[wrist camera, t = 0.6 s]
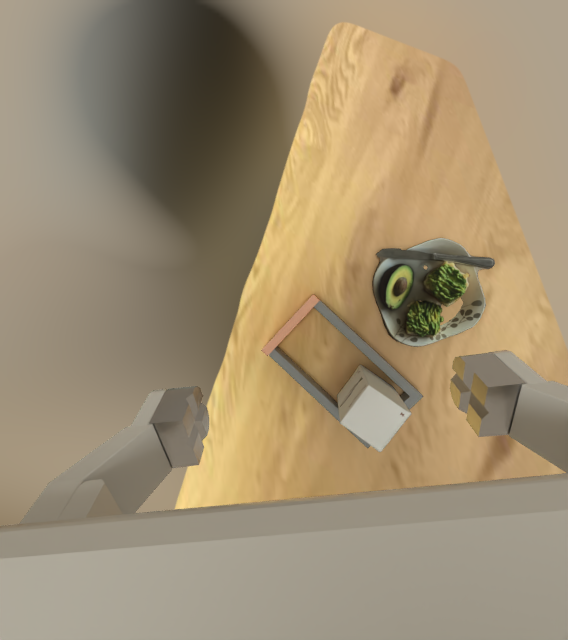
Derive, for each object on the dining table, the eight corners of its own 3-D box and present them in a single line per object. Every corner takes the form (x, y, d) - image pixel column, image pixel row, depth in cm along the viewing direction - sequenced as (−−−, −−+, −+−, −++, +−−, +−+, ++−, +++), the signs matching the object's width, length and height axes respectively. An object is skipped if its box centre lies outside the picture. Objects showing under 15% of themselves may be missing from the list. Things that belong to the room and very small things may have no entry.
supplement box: (359, 362, 57) (369, 382, 44) (394, 386, 56) (414, 414, 44) (335, 394, 58) (338, 423, 45) (369, 418, 57) (381, 454, 45)
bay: (418, 390, 56) (425, 398, 52) (365, 440, 58) (368, 451, 54) (313, 294, 56) (312, 294, 53) (265, 346, 58) (261, 350, 55)
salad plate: (473, 215, 52) (487, 208, 48) (507, 317, 53) (524, 319, 49) (360, 258, 55) (363, 255, 51) (393, 353, 56) (399, 359, 51)
